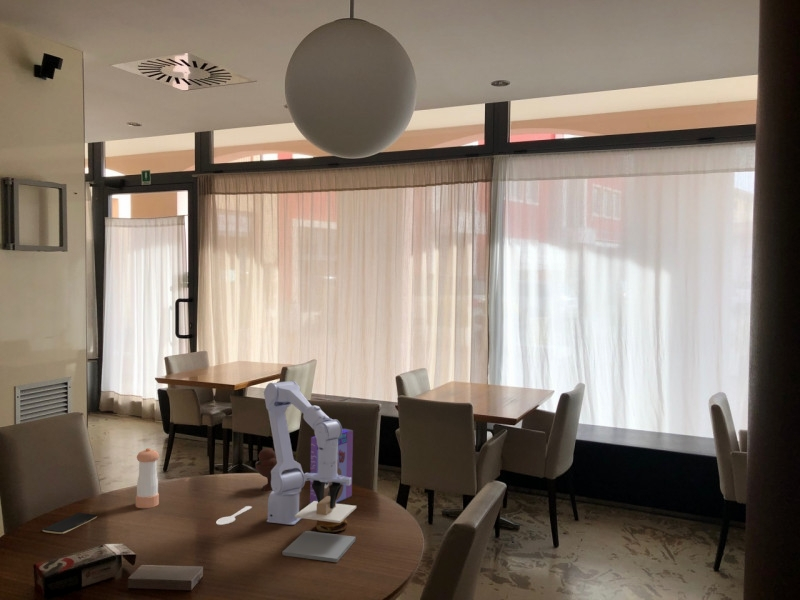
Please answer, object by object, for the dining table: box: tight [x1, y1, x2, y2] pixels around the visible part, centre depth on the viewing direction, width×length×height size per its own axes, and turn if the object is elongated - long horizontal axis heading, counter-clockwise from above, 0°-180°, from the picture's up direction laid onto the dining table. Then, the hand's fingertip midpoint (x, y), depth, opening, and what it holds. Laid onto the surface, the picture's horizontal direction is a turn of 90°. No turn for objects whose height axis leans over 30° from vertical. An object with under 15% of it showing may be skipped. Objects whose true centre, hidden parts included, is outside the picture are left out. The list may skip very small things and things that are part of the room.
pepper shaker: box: [135, 447, 160, 509], centre depth 211 cm, size 7×7×19 cm
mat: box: [282, 530, 357, 563], centre depth 178 cm, size 16×16×1 cm
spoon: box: [215, 505, 253, 526], centre depth 202 cm, size 5×18×1 cm, turn 161°
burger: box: [315, 517, 348, 533], centre depth 193 cm, size 10×9×5 cm
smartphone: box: [42, 512, 98, 535], centre depth 192 cm, size 7×1×15 cm
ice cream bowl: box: [254, 447, 277, 492], centre depth 231 cm, size 11×11×15 cm
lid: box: [295, 496, 357, 523], centre depth 185 cm, size 14×14×4 cm
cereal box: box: [309, 428, 354, 504], centre depth 217 cm, size 17×5×24 cm, turn 148°
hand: (326, 506), depth 185 cm, fingers closed on lid, 3 cm apart
